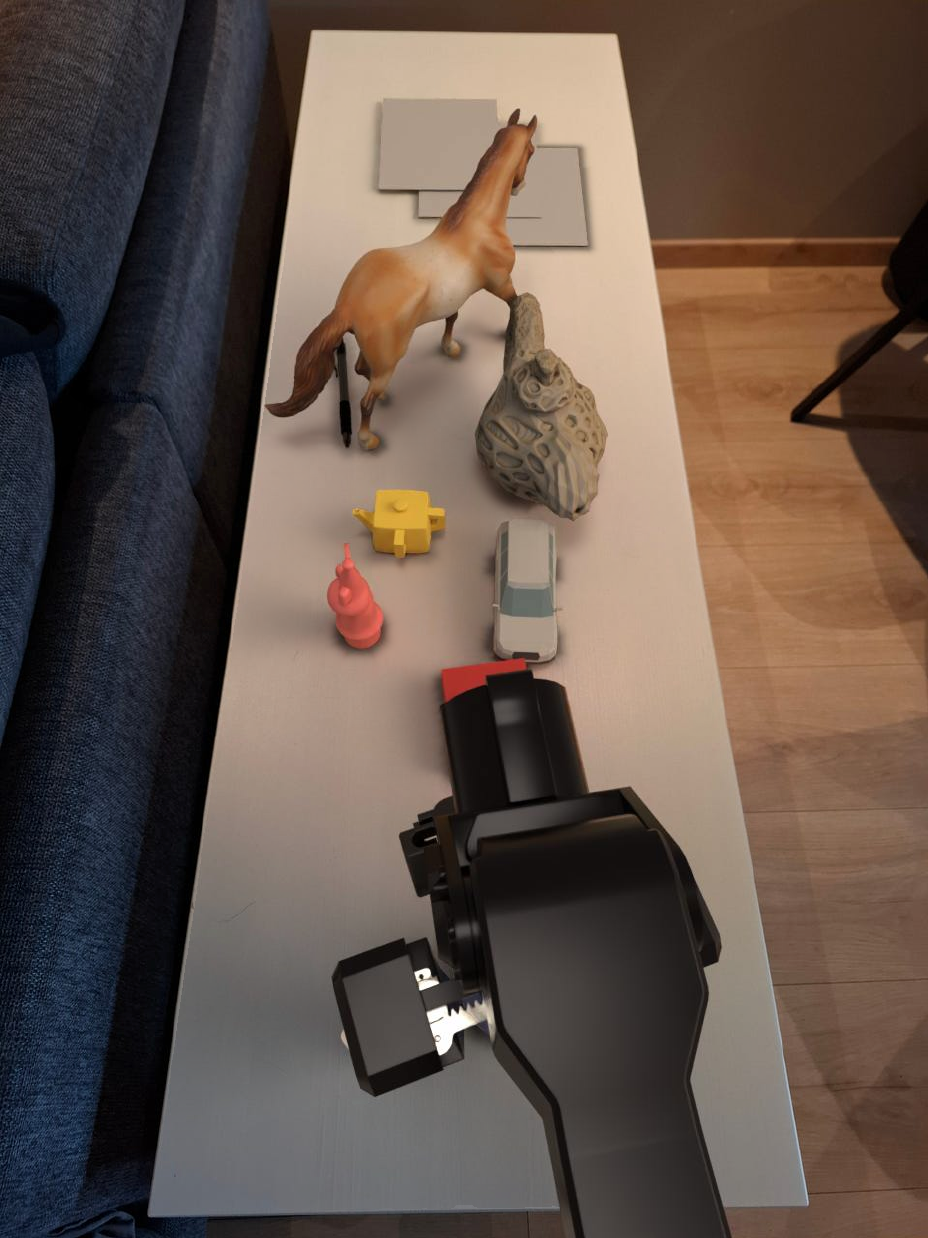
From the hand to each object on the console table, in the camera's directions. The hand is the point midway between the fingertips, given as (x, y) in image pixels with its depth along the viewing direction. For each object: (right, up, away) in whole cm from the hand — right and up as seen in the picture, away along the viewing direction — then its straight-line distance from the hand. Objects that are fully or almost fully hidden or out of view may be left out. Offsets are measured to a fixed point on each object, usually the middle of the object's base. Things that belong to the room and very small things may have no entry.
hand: (516, 976), depth 50 cm
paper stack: (-1, +73, +50) cm, 89 cm away
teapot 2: (+4, +35, +32) cm, 48 cm away
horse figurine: (-9, +46, +37) cm, 59 cm away
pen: (-15, +43, +35) cm, 57 cm away
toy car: (+2, +22, +25) cm, 33 cm away
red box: (-1, +12, +20) cm, 23 cm away
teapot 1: (-9, +28, +27) cm, 40 cm away
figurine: (-12, +20, +23) cm, 33 cm away
